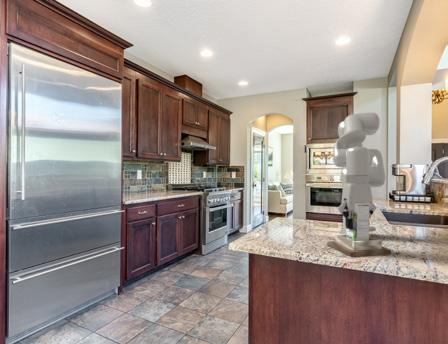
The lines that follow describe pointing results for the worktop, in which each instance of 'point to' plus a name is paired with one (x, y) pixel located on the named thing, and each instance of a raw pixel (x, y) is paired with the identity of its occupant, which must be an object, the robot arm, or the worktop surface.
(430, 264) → the worktop surface
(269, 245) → the worktop surface
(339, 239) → the collar board
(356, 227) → the syrup box
